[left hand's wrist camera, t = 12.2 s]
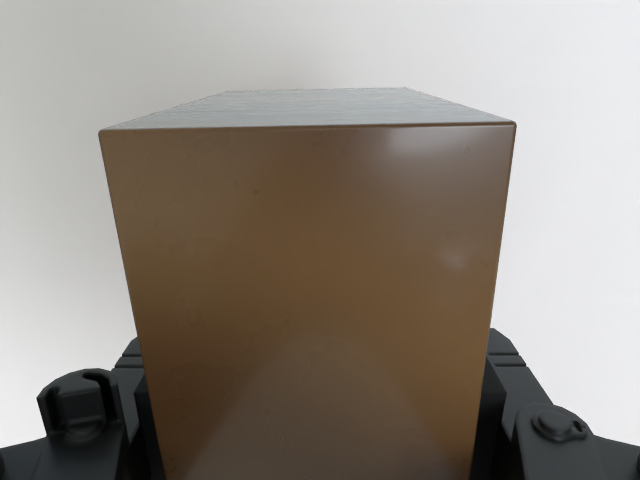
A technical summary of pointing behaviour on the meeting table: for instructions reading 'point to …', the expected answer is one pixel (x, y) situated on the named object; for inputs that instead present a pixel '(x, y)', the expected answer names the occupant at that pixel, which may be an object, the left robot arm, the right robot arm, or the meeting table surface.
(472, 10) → the meeting table surface
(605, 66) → the meeting table surface
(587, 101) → the meeting table surface
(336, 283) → the beam
